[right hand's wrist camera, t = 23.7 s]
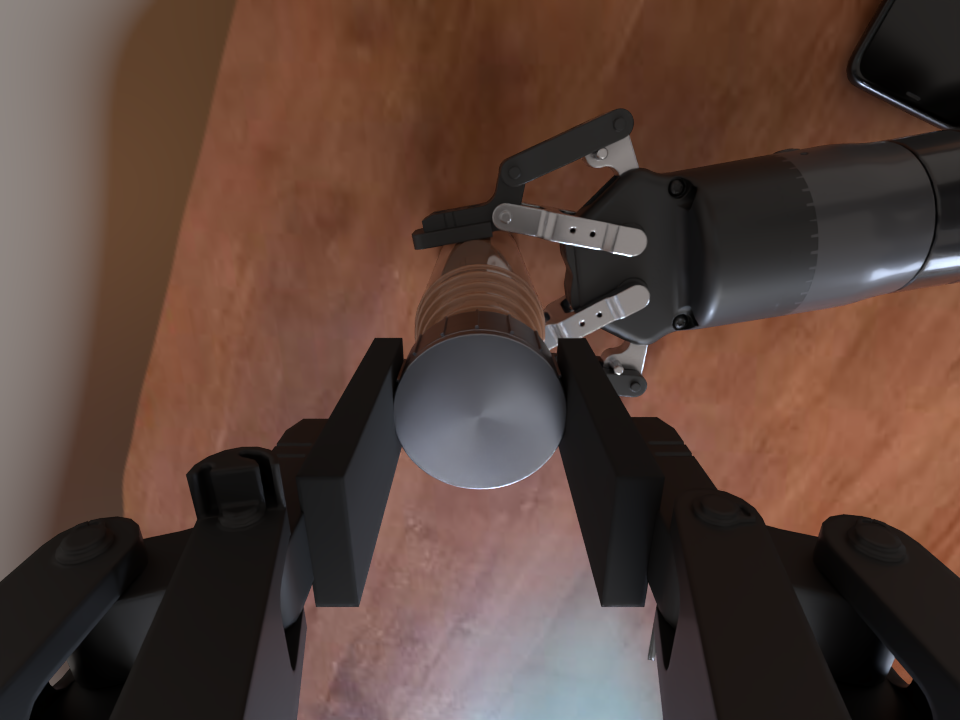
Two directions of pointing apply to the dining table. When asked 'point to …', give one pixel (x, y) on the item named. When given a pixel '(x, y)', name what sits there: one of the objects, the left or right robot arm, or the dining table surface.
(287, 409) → the dining table surface
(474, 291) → the bottle
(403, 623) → the dining table surface
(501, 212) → the left robot arm
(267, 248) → the dining table surface
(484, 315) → the cap
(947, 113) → the smartphone
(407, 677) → the dining table surface
